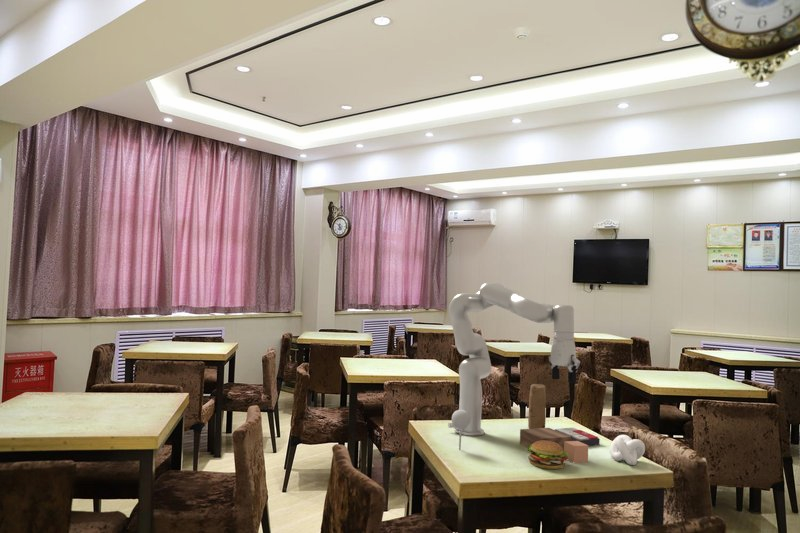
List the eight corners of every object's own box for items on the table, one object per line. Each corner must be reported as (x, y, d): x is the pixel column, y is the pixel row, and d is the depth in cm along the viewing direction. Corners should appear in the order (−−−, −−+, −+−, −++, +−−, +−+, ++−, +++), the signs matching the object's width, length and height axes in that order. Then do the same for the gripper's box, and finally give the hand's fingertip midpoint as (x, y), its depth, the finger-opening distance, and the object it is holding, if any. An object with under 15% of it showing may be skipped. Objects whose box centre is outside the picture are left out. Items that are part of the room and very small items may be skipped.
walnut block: (541, 454, 195) (541, 438, 196) (519, 444, 208) (520, 429, 209) (571, 452, 200) (571, 436, 201) (548, 442, 213) (548, 427, 214)
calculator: (580, 438, 208) (554, 427, 221) (580, 449, 208) (553, 437, 221) (600, 436, 213) (573, 426, 226) (599, 447, 212) (572, 435, 226)
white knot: (600, 458, 193) (601, 434, 194) (622, 455, 199) (622, 431, 200) (627, 467, 184) (627, 442, 184) (648, 464, 189) (649, 439, 190)
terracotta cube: (574, 463, 186) (574, 446, 187) (563, 457, 192) (564, 441, 192) (587, 462, 188) (588, 445, 189) (577, 457, 194) (577, 440, 194)
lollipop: (458, 446, 200) (460, 406, 201) (473, 450, 195) (474, 410, 196) (446, 449, 195) (448, 409, 196) (461, 453, 190) (462, 412, 191)
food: (576, 469, 179) (577, 446, 179) (540, 471, 175) (541, 447, 175) (553, 457, 192) (554, 435, 192) (520, 459, 188) (520, 436, 188)
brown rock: (545, 433, 227) (546, 387, 229) (527, 431, 229) (529, 385, 231) (544, 427, 238) (546, 383, 239) (528, 425, 240) (529, 382, 241)
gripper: (542, 335, 209) (542, 378, 207) (570, 337, 193) (570, 384, 191) (557, 335, 211) (557, 377, 210) (586, 337, 195) (587, 383, 194)
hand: (563, 380), depth 201 cm, fingers open, 9 cm apart
